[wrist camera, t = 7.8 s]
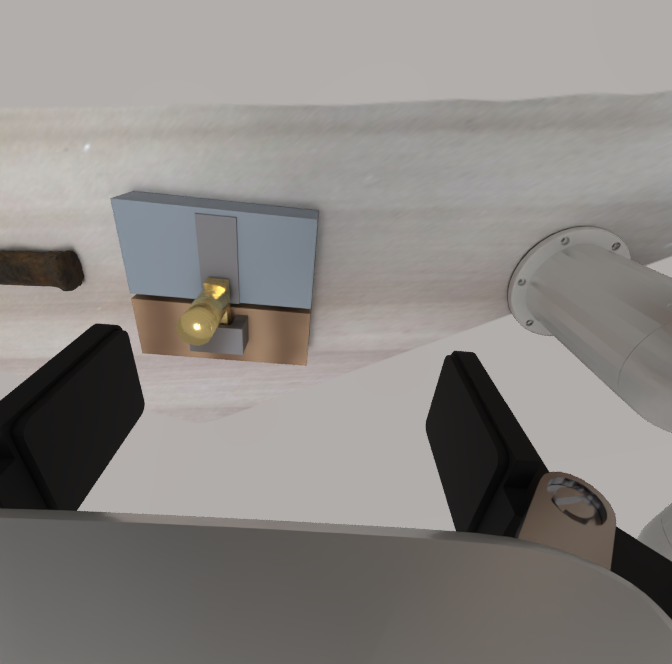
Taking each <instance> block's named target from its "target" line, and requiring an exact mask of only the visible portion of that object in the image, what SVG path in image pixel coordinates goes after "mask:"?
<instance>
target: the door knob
mask: <svg viewBox="0 0 672 664" xmlns="http://www.w3.org/2000/svg"><path fill="white" fill-rule="evenodd" d="M203 285H204V289H203V290H202V291H201V292H200V294H199V295H198V296H197V297H196V299H195V300H194V301H193V303H192V304H191V305H190V306H189V308H188V309H187V310H186V311H185V313H184V314H183V315H182V317H181V318H180V319H179V320H178V322H177V325H176V330H177V333H178V335H179V336H180V338H181V339H182V340H184V341H185V342H187V343H189V344H192V345H203V344H206V343H207V342H208V341H209V340H210V339H211V337H212V336H213V334H214V332H215V330H216V328H217V327H218V325H231V306H230V287H229V279H219V278H207V279H206V280H205V282H204V283H203Z"/></svg>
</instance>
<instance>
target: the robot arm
mask: <svg viewBox="0 0 672 664" xmlns="http://www.w3.org/2000/svg"><path fill="white" fill-rule="evenodd" d="M508 303H509V308H510V310H511V312H512V315H513V316H514V318H515V319H516V320H517V321H518V322H519V323H520V324H521V325H522V326H523V327H524V328H525V329H527V330H529V331H531V332H533V333H537V334H540V335H547V336H555V337H556V338H557V339H558V340H559V341H560V342H561V343H562V344H563V345H564V346H565V347H567V349H569V350H570V351H571V352H572V353H573V354H574V355H575V356H576V357H577V358H578V359H579V360H580V361H581V362H582V363H584V364H585V365H586V366H587V367H588V368H589V369H590V370H591V371H592V372H593V373H594V374H595V375H596V376H597V377H598V378H599V379H601V380H602V381H603V382H604V383H605V384H606V385H607V386H608V387H609V388H610V389H611V390H612V391H613V392H615V393H616V394H617V395H618V396H619V397H620V398H621V399H622V400H623V401H625V402H626V403H627V404H628V405H629V406H630V407H631V408H632V409H633V410H634V411H635V412H636V413H638V414H639V415H640V416H641V417H642V418H644V419H645V420H647V421H648V422H650V423H652V424H653V425H655V426H657V427H659V428H661V429H663V430H666V431H668V432H671V433H672V278H670V277H668V276H666V275H664V274H661V273H659V272H657V271H655V270H652V269H650V268H648V267H646V266H643V265H641V264H639V263H637V262H634V261H632V260H631V256H630V252H629V249H628V248H627V246H626V244H625V243H624V241H623V240H621V239H620V238H619V237H618V236H617V235H615V234H613V233H611V232H609V231H606V230H603V229H600V228H597V227H588V226H585V227H574V228H570V229H567V230H563V231H560V232H558V233H556V234H554V235H551V236H550V237H548V238H546V239H545V240H543V241H542V242H540V243H539V244H538V245H536V246H535V247H534V248H533V249H532V250H530V251H529V252H528V254H527V255H526V256H525V257H524V258H523V259H522V260H521V262H520V263H519V265H518V266H517V268H516V270H515V271H514V274H513V276H512V278H511V281H510V285H509V289H508ZM144 404H145V403H144V398H143V394H142V390H141V385H140V381H139V377H138V373H137V369H136V364H135V360H134V356H133V352H132V348H131V344H130V339H129V335H128V333H127V332H126V331H123V330H122V328H121V327H120V326H118V325H110V324H94V325H93V326H91V327H90V328H89V329H88V330H87V331H85V332H84V333H83V334H82V335H80V336H79V337H78V338H77V339H75V340H74V341H73V342H72V343H71V344H69V345H68V346H67V347H66V348H64V349H63V350H62V351H61V352H59V353H58V354H57V355H56V356H55V357H53V358H52V359H51V360H50V361H48V362H47V363H46V364H45V365H43V366H42V367H41V368H40V369H39V370H37V371H36V372H35V373H34V374H32V375H31V376H30V377H29V378H27V379H26V380H25V381H24V382H23V383H21V384H20V385H19V386H18V387H17V388H15V389H14V390H13V391H12V392H10V393H9V394H8V395H7V396H5V397H4V398H3V399H2V400H0V664H672V503H671V504H670V505H669V506H668V507H666V508H665V509H664V510H663V511H662V512H661V513H660V514H658V515H657V516H656V517H655V518H653V519H652V521H650V522H649V523H648V524H647V525H646V526H645V527H644V528H643V530H642V531H641V533H640V535H639V537H638V539H635V538H634V537H632V536H630V535H629V534H627V533H626V532H624V531H622V530H621V529H619V528H618V527H616V517H615V513H614V511H613V509H612V507H611V505H610V503H609V502H608V501H607V500H606V498H605V497H604V496H603V495H602V494H601V493H600V492H599V491H598V490H596V489H595V488H594V487H593V486H592V485H590V484H588V483H587V482H585V481H584V480H582V479H580V478H578V477H575V476H573V475H571V474H567V473H563V472H549V471H548V469H547V468H546V466H545V465H544V463H543V461H542V460H541V458H540V456H539V455H538V453H537V452H536V450H535V448H534V447H533V445H532V444H531V442H530V440H529V439H528V437H527V436H526V434H525V432H524V431H523V429H522V428H521V426H520V424H519V423H518V421H517V419H516V418H515V417H514V415H513V413H512V411H511V410H510V408H509V407H508V405H507V404H506V402H505V401H504V399H503V397H502V396H501V395H500V393H499V391H498V389H497V388H496V386H495V385H494V383H493V382H492V380H491V378H490V377H489V375H488V373H487V372H486V370H485V369H484V367H483V366H482V364H481V362H480V361H479V359H478V357H477V356H476V354H475V353H473V352H463V351H454V352H453V353H452V354H451V355H447V356H446V357H445V360H444V363H443V366H442V370H441V373H440V377H439V380H438V383H437V386H436V390H435V393H434V397H433V400H432V403H431V407H430V410H429V413H428V417H427V420H426V433H427V436H428V440H429V443H430V446H431V450H432V453H433V456H434V459H435V463H436V466H437V469H438V472H439V476H440V479H441V483H442V486H443V489H444V493H445V496H446V499H447V503H448V506H449V509H450V513H451V516H452V519H453V523H454V526H455V529H456V531H442V530H429V529H415V528H398V527H381V526H363V525H346V524H329V523H311V522H292V521H273V520H254V519H253V520H252V519H234V518H214V517H195V516H175V515H152V514H131V513H110V512H108V513H107V512H88V511H87V512H86V511H77V509H78V508H79V507H80V505H81V504H82V502H83V501H84V499H85V498H86V496H87V495H88V493H89V492H90V490H91V489H92V487H93V486H94V484H95V483H96V481H97V480H98V478H99V477H100V475H101V474H102V473H103V471H104V470H105V468H106V466H107V465H108V464H109V462H110V460H111V459H112V458H113V456H114V455H115V453H116V452H117V450H118V449H119V447H120V446H121V444H122V443H123V441H124V440H125V438H126V437H127V436H128V434H129V433H130V431H131V429H132V428H133V427H134V425H135V424H136V422H137V421H138V419H139V418H140V416H141V415H142V413H143V410H144Z"/></svg>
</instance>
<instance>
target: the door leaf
mask: <svg viewBox="0 0 672 664" xmlns="http://www.w3.org/2000/svg"><path fill="white" fill-rule="evenodd" d="M110 199H111V204H112V209H113V213H114V218H115V223H116V228H117V233H118V237H119V242H120V247H121V252H122V257H123V261H124V266H125V271H126V276H127V281H128V285H129V290H130V293H133V294H144V295H156V296H167V297H179V298H191V299H196V297H197V296H198V295H199V294H200V292H201V291H202V290H203V289H204V285H203V283H204V282H205V280H206V279H207V278H219V279H229V287H230V303H233V304H239V303H248V304H260V305H271V306H283V307H295V308H306V309H311V301H312V291H313V278H314V265H315V252H316V239H317V225H318V212H319V211H318V210H308V209H299V208H289V207H280V206H270V205H260V204H251V203H241V202H232V201H222V200H213V199H203V198H194V197H184V196H175V195H165V194H155V193H146V192H136V191H132V192H129V193H125V194H122V195H119V196H116V197H113V198H110Z"/></svg>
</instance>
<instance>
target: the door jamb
mask: <svg viewBox="0 0 672 664" xmlns="http://www.w3.org/2000/svg"><path fill="white" fill-rule="evenodd" d="M131 300H132V305H133V309H134V314H135V319H136V324H137V329H138V333H139V338H140V343H141V348H142V353H147V354H160V355H173V356H186V357H199V358H213V359H226V360H239V361H252V362H265V363H278V364H292V365H305V366H306V364H307V354H308V343H309V330H310V317H311V309H306V308H295V307H283V306H271V305H260V304H248V303H239V304H233V303H230V306H231V325H218V327H217V328H216V330H215V332H214V334H213V336H212V337H211V339H210V340H209V341H208V342H207V343H206V344H203V345H192V344H189V343H187V342H185V341H184V340H182V339H181V338H180V336H179V335H178V333H177V330H176V325H177V322H178V320H179V319H180V318H181V317H182V315H183V314H184V313H185V311H186V310H187V309H188V308H189V306H190V305H191V304H192V303H193V301H194V300H195V299H191V298H179V297H167V296H156V295H144V294H136V295H135V296H134V297H133V298H132V299H131ZM311 304H312V301H311Z"/></svg>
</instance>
